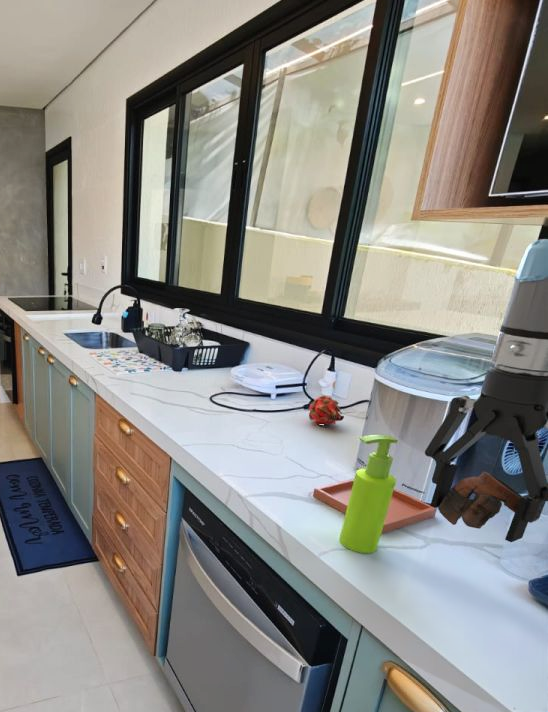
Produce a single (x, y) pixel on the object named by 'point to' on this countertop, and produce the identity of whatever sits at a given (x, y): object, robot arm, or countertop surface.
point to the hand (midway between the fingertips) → (473, 520)
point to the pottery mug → (478, 500)
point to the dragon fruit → (325, 411)
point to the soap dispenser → (369, 498)
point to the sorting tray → (399, 511)
